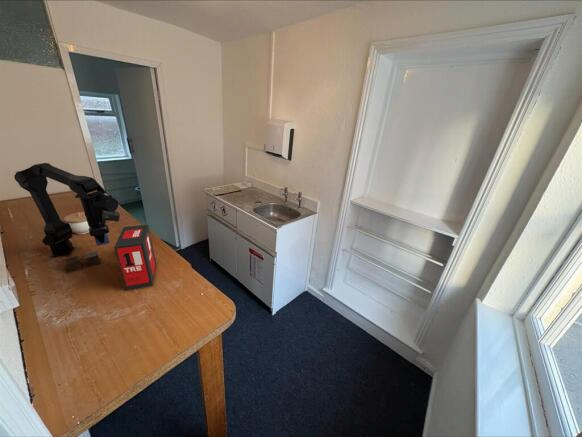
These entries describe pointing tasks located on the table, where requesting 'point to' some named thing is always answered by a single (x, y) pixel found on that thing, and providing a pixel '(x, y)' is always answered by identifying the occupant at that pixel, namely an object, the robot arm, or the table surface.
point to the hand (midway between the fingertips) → (102, 240)
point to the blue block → (104, 242)
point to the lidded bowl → (77, 222)
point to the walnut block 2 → (92, 258)
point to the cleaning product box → (136, 256)
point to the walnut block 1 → (73, 263)
